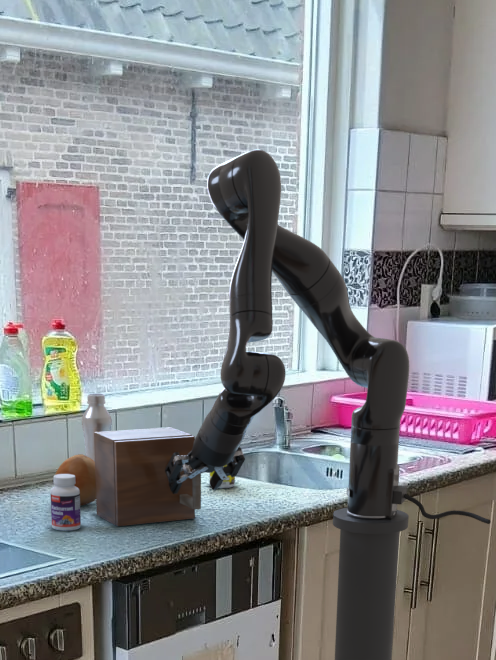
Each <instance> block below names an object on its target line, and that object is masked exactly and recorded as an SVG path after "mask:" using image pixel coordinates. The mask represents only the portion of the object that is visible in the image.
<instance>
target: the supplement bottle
mask: <svg viewBox="0 0 496 660" xmlns="http://www.w3.org/2000/svg"><path fill="white" fill-rule="evenodd" d="M225 466H227V465H225ZM225 466H223V467H225ZM214 472H215V471H213V472H212V473H208V474H209V483H210V479H211V477H212V475H213V473H214ZM235 484H236V476H235V477H231V475H230V476H227V478H226V479H224V480H223V482H222V484H221V486H219V487H218V488H217V489H228V488H229V489H230V488H233V487H234V486H235ZM209 485H210V484H209ZM210 487H211V485H210Z"/></svg>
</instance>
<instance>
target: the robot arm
mask: <svg viewBox="0 0 496 660" xmlns="http://www.w3.org/2000/svg"><path fill="white" fill-rule="evenodd" d="M206 184H207V185H206V187H207V192H208V195H209V199H210V201H211V203H212V205H213V207H214V208H215V210H216V211H217V213H218V214H219V215H220V216H221V218H222V219H223V220H224V221H225V222H226V223H227V224H228V225H229V226H230V227H231V229H233V231H235V232H236V234H237V235H239V236H240V238H241V239H242V240H243V244H242V247H241V250H240V253H239V256H238V258H237V261H236V264H235V266H234V269H233V272H232V275H231V280H230V284H229V291H228V292H229V294H228V295H229V296H228V297H229V298H228V299H229V302H228V303H229V331H228V338H227V342H226V348H225V352H224V355H223V358H222V359H223V360H222V363H221V367H220V381H221V385H222V387H223V389H222V390H221V391H220V392H219V393H218V396H217V398H216V399H215V401H214V403H213V405H212V407H211V409H210V411H208V413H207V414H206V415H205V416H206V417H205V418H204V420H203V422H202V423H201V426H200V428H199V430H198V431H197V434H196V435H195V440H194V443H193V449H192V451H190V452H189V453H188V454H187V455H183V456H180V454H179V452H175V453H173V455H172V457H171V459H170V461H169V463H168V464H167V466H166V468H165V473H166V475H167V478H168V481H169V487H170V490H171V492H172V493H173V494H177V493H178V491H179V489H180V487H181V485H182V482H183V481H185V480H186V479H188V478H189V479H192V478H193V477H195V476H196V475H198V474H200V473H201V474H204V473H207V474H209V473H212V472H213V471H215V472H214V473H213V475H212V477H211V479H210V480H209V481H210V482H209V485H211V486H210V488H211V490H212V491H217V490H218V489H219V488H218V487H219V486H221V484H222V482H223V480H224V479H226V478H227V476H230V475H231V477H235V478H236V476H237V475H238V474H239V472H240V470H241V468H242V466H243V464H244V463H245V461H246V457H245V455H244V453H243V450H242V447H240V446H241V444H242V442H243V440H244V438H245V436H246V432H247V430H248V428H249V426H250V424H251V423H252V421H253V419H254V417H255V416H256V415H258V414H259V413H260V412H262V410H264V409H265V408H267V406H268V405H269V404H271V403H272V402H273V401H274V400H275V399H276V398H277V396H278V395H279V394H280V392H281V391H282V389H283V386H284V385H285V382H286V381H285V380H286V375H287V374H286V373H287V372H286V367H285V364H284V362H283V360H282V359H281V358H280V357H279V356H278V355H276V354H273V353H267V352H256V351H249V350H248V351H247V344H248V343H254V342H255V343H256V342H261V341H264V340H267V339H268V338H269V337H271V335H272V333H273V327H274V326H273V325H274V324H273V322H274V321H273V292H272V289H273V288H272V287H273V285H272V281H273V275H274V276H275V277H276V279H277V281H279V283H280V285H281V286H282V287H283V288H284V291H286V293H287V294H288V295H289V296H290V297H291V299H292V300H293V301H294V303H295V304H296V305H297V307H298V308H299V309H300V310H301V311H302V312H303V314H304V315H305V316H306V318H308V320H309V321H310V323H311V324H312V325H313V326H314V327H315V329H316V330H317V331H318V332H319V334H320V335H321V336H322V337H323V338H324V340H325V341H326V342H327V344H328V346H329V347H330V349H331V350H332V352H333V353H334V355H335V357H336V359H337V360H338V362H339V364H340V365H341V367H342V369H343V370H344V372H345V374H346V375H347V376H348V377H349V379H350V380H351V381H352V382H353V383H354V384H356V385H357V386H359V387H362V388H365V389H367V390H366V396H365V397H366V398H365V401H364V403H363V404H362V406H360V407H357V408H355V409H354V410H353V411H352V413H351V424H350V425H351V428H350V445H349V447H350V448H349V450H350V451H349V468H348V469H349V470H348V486H347V487H346V493H345V494H346V496H347V503H346V504H347V505H346V506H347V507H348V509H347V515H348V516H351V517H354V518H358V519H366V520H383V519H387V520H391V519H392V518H393V517H394V516H395V515H396V514H397V510H398V505H403V503H404V502H405V501H406V500H407V501H409V502H411V503H413V504H414V505H416V506H417V507H418V509H419V511H420V514H421V515H422V516H423V517H424V518H426V519H427V520H428V519H429V520H437V519H438V520H439V519H442V518H445V517H448V516H453V515H454V516H456V515H457V516H464V517H469V518H472V519H474V520H477V521H478V522H481V523H484V524H487V525H490V524H491V519H489V518H486V517H483V516H481V515H479V514H476V513H473V512H470V511H465V510H448V511H444V512H441V513H438V514H431V513H428V512H426V510H425V508H424V504H423V503H421V501H419V500H418V499H416V498H414V497H413V496H411V495H409V494H408V486H405V485H399V484H400V483H399V482H400V469H401V468H400V465H399V464H398V461H399V447H400V446H399V445H400V430H401V427H400V426H401V419H402V417H403V416H404V415H403V414H404V412H405V409H406V405H407V395H408V389H409V387H408V386H409V376H410V357H409V354H408V351H407V349H406V346H405V345H404V344H403V343H401V342H399V341H398V340H394V339H390V338H381V337H375V336H374V335H372V334H371V333H370V332H369V331H368V330H367V329H366V328H365V327H364V326H363V325H362V323H361V322H360V321H359V320H358V318H357V317H356V315H355V313H354V312H353V311H352V308H351V304H350V297H349V292H348V288H347V284H346V281H345V279H344V277H343V275H342V274H341V272H340V271H339V270H338V268H337V266H336V265H335V263H333V261H332V259H331V258H330V257H329V256H328V255H327V253H326V252H325V251H324V250H323V249H322V248H321V247H320V246H318V245H316V244H315V243H314V242H312V241H311V240H309V239H308V238H307V239H306V238H305V237H303V236H301V235H299V234H297V233H294V232H293V231H290V230H289V229H287V228H285V227H283V226H282V225H280V224H279V215H280V208H281V201H282V200H281V199H282V177H281V173H280V170H279V167H278V165H277V163H276V161H275V159H274V158H273V157H272V156H271V154H269V153H268V152H267V151H265V150H263V149H258V148H257V149H252V150H250V151H247V152H244V153H241V154H240V155H238V156H236V157H233V158H231V159H228V160H227V161H225V162H223V163H220V164H218V166H216V167H214V168H213V169H212V170H211V171H210V173H209V174H208V176H207V181H206ZM189 465H190V466H191V468H192V469H193V471H192V472H191V471H190V468H189ZM225 465H227V466H225ZM223 466H225V467H223ZM182 471H184V474H183V475H182V476H181V474H180V472H182Z"/></svg>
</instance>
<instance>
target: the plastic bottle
mask: <svg viewBox="0 0 496 660" xmlns="http://www.w3.org/2000/svg"><path fill="white" fill-rule="evenodd" d="M86 399H87V401H86V404H87V405H88V406H87V408H86V409H85V411H84V413H83V415H82V417H81V426H82V433H83V439H84V452H85V454H84V455H85V456H87V457H89V458H91V459H92V460H94V461H95V451H94V432H103V431H112V427H113V419H112V415H111V414H110V413H109V411H108V409H107V407H105V405H106V397H105V394H104V393H100V392H99V393H96V392H95V393H93V392H92V393H87V397H86Z"/></svg>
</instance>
